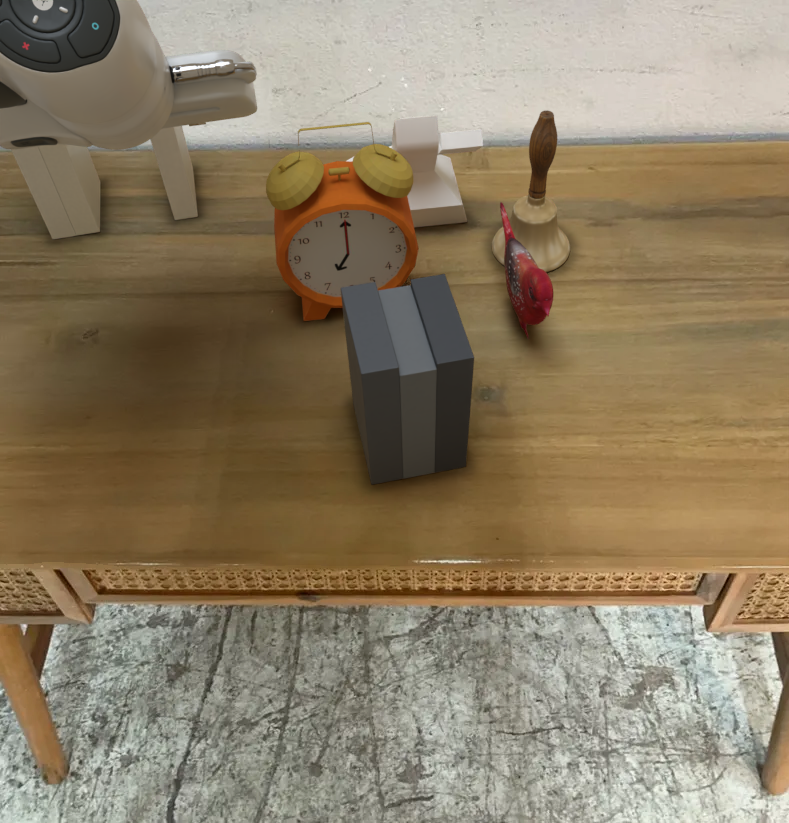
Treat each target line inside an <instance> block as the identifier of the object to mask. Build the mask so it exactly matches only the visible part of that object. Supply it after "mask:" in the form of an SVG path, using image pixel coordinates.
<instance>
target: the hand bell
mask: <svg viewBox="0 0 789 823" xmlns="http://www.w3.org/2000/svg"><path fill="white" fill-rule="evenodd" d="M530 134H531V135H530V137H529V146H528V157H529V163H530V168H531V173H530V174H531V175H530V181H529V188H528V194H527V195H525V196H522V197H520V198H519V199H518V200H516V201H515V203H514V204H513V207H512V212H511V215H510V218H509V222H510V225H511V228H512V231H513V234H514V236H515V238H516V240H518V241H519V242H520V243H521V244H522V245H523V246H524V247H525V248H526V249H527V251H528V252H529V253H530V254H531V256H532V257H533V259H534V261H535V262H536V264H537V266H538V267H539V268H540V269H543V270H544V271H545V272H546V273H548V272H552V271H554V270H556V269H558V268H560V267H561V266H562V265H564V263H565V262H566V261H567V260H568V258H569V256H570V252H571V244H570V241H569V239H568V237H567V235H566V233H565V232H563V230H562V229H561V228H560V227H559V225H558V207H557V205H556V204H555V202H554V201H553V200H552V199H551V198H549V197H547V196H546V194H547V180H548V173H549V170H550V168H551V166H552V163H553V162H554V159H555V157H556V152H557V146H558V130H557V126H556V121H555V114H554V112H553V111H551V110H542V111H541V112H540V113H539V116H538V118H537V121H536V123H535V124H534V127H533V129H532V131H531V133H530ZM494 234H495V235H494V236H493V238H492V241H491V252H492V254H493V256H494V258H495V259H496V260H497V261H498V262H499V263H500V264H501V265H502V266H504V267H505V264H504V253H505V234H504V228H503V226H502V227H500V228H499V229H498V230H497V232H496V233H494Z"/></svg>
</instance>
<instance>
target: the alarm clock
mask: <svg viewBox="0 0 789 823" xmlns="http://www.w3.org/2000/svg"><path fill="white" fill-rule="evenodd" d="M366 125H368V126H370V130H373V127H372V123H371V122H370V121H362V122H353V123H343V124H333V125H322V126H314V127H313V126H312V127H304V128H303V127H302V128H299V129H298V130H297V139H298V140H297V141H298V142H297V144H298V145H300V138H299V136H300V135H299V134H300V132H304V131H305V132H306V131H316V130H325V129H327V130H328V129H337V128H346V127H355V126H356V127H357V126H366ZM371 134H372V135H371V137H374V134H373V131H371ZM353 157H354V158H353V162H349V161H347V160H345V161H344V160H336V161H331V162H328V163H324V164H323V161H322V160H321V159H319V158H318V157H316V156H315V155H314V154H312V153H311V152H307V151H306V152H305V151H295V152H291V153H289V154H287V155H286V156H284V157H283V158H281V159H279V161H278V162H276V164H275V165H274V166H273V167H272V169H271V170H270V171H269V173H268V176H267V178H266V180H265V193H266V197H267V199H268V201H269V202H270V204H271V206H272V207H274V215H273V216H274V218H273V220H274V222H273V230H274V245H275V259H276V260H275V261H276V267H277V268H278V271H279V273H280V276H281V279H282V281H284V283H285V284H286V285H287V286H288V287H289V288H290V289H291V290H292V291H293V292H294V293H295V294H296V296H299V297H301V305H302V318H303V322H307V321H317V320H318V321H319V320H325V319H326V317H327V315H328V314H329V312H330V311H331V309H343V306H342V297H341V287H347V286H354V285H360V284H366V283H372V282H375V283H376V286H377V289H378V290H384V289H390V288H396V287H402V286H404V284H405V283H406V281H407V280H408V278H409V277H410V275H411V273H412V272H413V270H414V269H415V266H416V265H417V264H416V263H417V259H418V253H419V244H418V240H417V234H416V230H415V227H414V225H413V220H412V216H411V211H410V206H409V202H408V197H407V196H408V194H409V192H410V191H411V188H412V185H413V171H412V168H411V166H410V164H409V163H408V161H407V160H406V159H405V158H404V157H403V156H402V155H401V154H400V153H398V152H397V151H395V150H394V149H392V148H390V147H389V146H387V145H384V144H381V143H375V140H374V138H372V144H369V145H366V146H363V147H361V148H360V150H359V151H357V153H355V155H354V156H353Z"/></svg>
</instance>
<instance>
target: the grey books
mask: <svg viewBox="0 0 789 823" xmlns="http://www.w3.org/2000/svg"><path fill="white" fill-rule="evenodd" d="M341 297H342V306H343V308H342V315H343V324H344V325H343V326H344V332H345V341H346V342H345V343H346V351H347V361H348V369H349V380H350V388H351V396H352V397H351V398H352V405H353V409H354V413H355V414H354V415H355V418H356V423H357V428H358V431H359V436H360V439H361V446H362V449H363V454H364V458H365V462H366V468H367V471H368V476H369V481H370V485H377V484H382V483H387V482H388V483H389V482H393V481H398V480H402V479H410V478H414V477H419V476H420V477H421V476H426V475H431V474H434V473H441V472H447V471H451V470H457V469H461V468H466V467H467V461H468V460H467V458H468V445H469V432H470V420H471V406H472V405H471V404H472V394H473V393H472V392H473V382H474V381H473V378H474V367H475V366H474V365H475V354H474V353H473V350H472V347H471V345H470V342H469V338H468V335H467V333H466V329H465V327H464V324H463V321H462V319H461V315H460V313H459V311H458V310H459V309H458V307H457V304H456V302H455V299H454V296H453V292H452V290H451V287H450V285H449V281H448V280H447V276H446V274H445V273H442V274H435V275H429V276H423V277H417V278H412V279H410V284H409V285H401V286H400V287H396V288H390V289H384V290H378V289H377V286H376V283H375V282H372V283H366V284H360V285H354V286H347V287H341Z"/></svg>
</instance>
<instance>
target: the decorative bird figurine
mask: <svg viewBox="0 0 789 823" xmlns="http://www.w3.org/2000/svg"><path fill="white" fill-rule="evenodd" d="M499 210H500V216H501V223H502V227H503V228H504V234H505V253H504V264H505V266H504V272H505V273H504V274H505V283H506V289H507V295H508V297H509V300H510V303H511V306H512V308H513V310H514V312H515V314H516V316H517V318H518V323H519V325H520V328H521V329H522V330H523V331H524V334H525V335H526V339H527V340H529V332H528V330H527V328H528V327H527V326H528V325H529V326H536V325H540V324H541V323H543V322H544V321H545V319H546V318H547V317H549V316H550V311H551V309H552V306H553V301H554V287H553V283H552V279H551V278H550V276H549V274H548V272H545V271H544V270H543V269H540V268H539V267H538V266H537V264H536V262H535V261H534V259H533V257H532V256H531V254H530V253H529V252H528V251H527V249H526V248H525V247H524V246H523V245H522V244H521V243H520V242H519V241H518V240H516V238H515V236H514V234H513V231H512V228H511V225H510V222H509V221H510V218H509V216H508V213H507V210H506V208H505V205H504V203H503V202H502V201H500V203H499Z"/></svg>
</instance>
